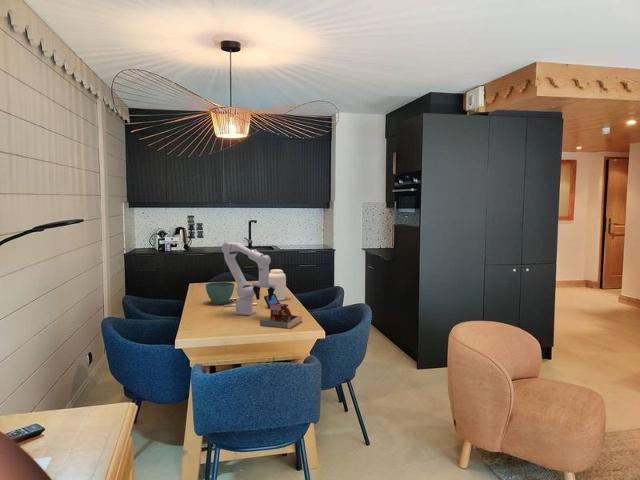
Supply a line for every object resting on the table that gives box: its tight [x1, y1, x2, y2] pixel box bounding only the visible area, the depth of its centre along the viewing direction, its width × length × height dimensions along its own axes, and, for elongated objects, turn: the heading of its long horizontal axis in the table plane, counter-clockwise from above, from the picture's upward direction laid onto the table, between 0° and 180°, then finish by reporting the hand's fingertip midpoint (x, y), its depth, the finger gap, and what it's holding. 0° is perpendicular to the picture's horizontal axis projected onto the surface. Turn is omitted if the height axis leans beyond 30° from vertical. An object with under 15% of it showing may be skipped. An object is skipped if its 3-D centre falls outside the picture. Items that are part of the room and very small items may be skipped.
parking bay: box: [259, 314, 303, 329], centre depth 259 cm, size 18×16×3 cm
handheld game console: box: [263, 294, 289, 310], centre depth 300 cm, size 12×11×7 cm
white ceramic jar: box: [266, 268, 287, 302], centre depth 323 cm, size 12×12×20 cm
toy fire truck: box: [269, 304, 293, 322], centre depth 259 cm, size 7×12×10 cm, turn 71°
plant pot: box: [205, 281, 235, 305], centre depth 310 cm, size 18×18×12 cm
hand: (263, 300), depth 274 cm, fingers open, 7 cm apart
